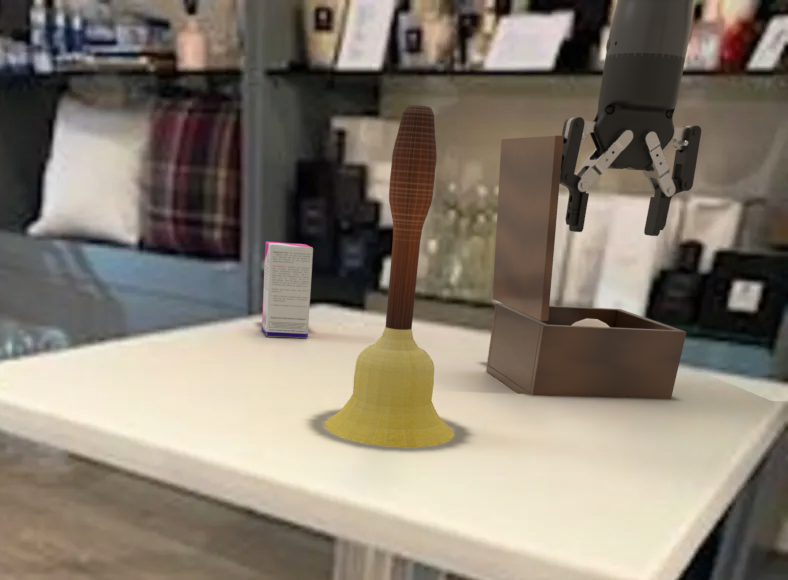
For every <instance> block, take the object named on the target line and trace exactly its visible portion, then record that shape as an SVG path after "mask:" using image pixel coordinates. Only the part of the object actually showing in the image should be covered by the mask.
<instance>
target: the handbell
mask: <svg viewBox="0 0 788 580" xmlns="http://www.w3.org/2000/svg"><path fill="white" fill-rule="evenodd" d="M435 125H436V124H435V113H434V110H433V108H432V107H431V106H426V105H414V104H413V105H411V104H410V105H409V104H408V105H407V106H405V108H403V111H402V113H401V118H400V121H399V125H398V130H397V135H396V137H395V141H394V145H393V150H392V154H391V166H390V176H389V189H388V203H389V209H390V215H391V219H392V247H391V257H390V268H389V269H390V270H389V282H388V293H387V305H386V315H385V316H386V317H385V326H384V330H383V332H382V335H381V337H379V339H377V341H376V342H375V343H374V344H370V345H368V346H367V347H365V348H364V349H363V350H361V352H360V353H358V355H357V358H356V360H355V361H356V362H355V367H354V368H355V369H354V375H353V386H352V388H353V389H352V394H351V396H350V398H349V399H348V401H346V403H345V404H344V405H343V407H341V409H340V410H339V411H337V412H336V413H334V414H333V415H331V417H329V418H328V419H327V420H326V421H324V428H325V429H326V430H327V431H328V432H329V433H331V434H333V435H334V436H337V437H339V438H341V439H342V438H343V439H344V440H348V441H352V442H356V443H361V444H366V445H371V446H379V447H380V446H381V447H387V448H388V447H389V448H424V447H425V448H427V447H431V446H437V445H442V444H444V443H448V442H449V441H452V439H453V438H454V436H455V432H454V431H453V429H452V428H451V427H450V426H449V425H448V424H447V423H446V422H445V421H444V420H443V419H442V418H441V417H440V415H439V413H438V412H437V410H436V408H435V406H434V403H433V393H434V385H435V364H434V361H433V359H432V358H431V355H430V354H429V353H428V352H427V351H426V350H425V349H423V348H421V347H419V346H418V344H417V343H416V340H415V339H414V334H413V320H414V319H413V317H414V310H415V298H416V289H417V280H418V279H417V278H418V267H419V257H420V249H421V239H422V233H423V230H424V229H423V228H424V225H425V221H426V219H427V217H428V215H429V211H430V209H431V206H432V202H433V198H434V197H433V196H434V190H435V189H434V188H435V178H436V167H437V166H436V165H437V157H438V156H437V142H436V127H435Z"/></svg>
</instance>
